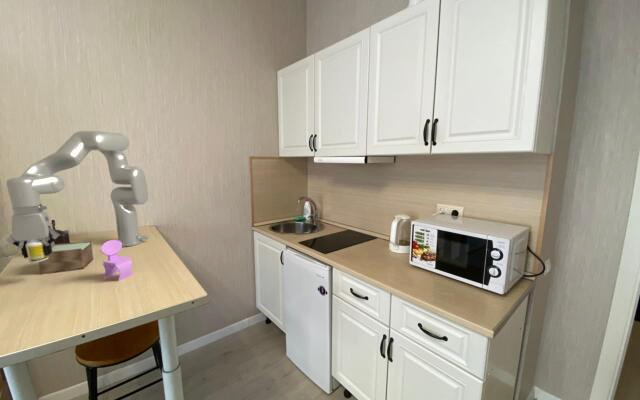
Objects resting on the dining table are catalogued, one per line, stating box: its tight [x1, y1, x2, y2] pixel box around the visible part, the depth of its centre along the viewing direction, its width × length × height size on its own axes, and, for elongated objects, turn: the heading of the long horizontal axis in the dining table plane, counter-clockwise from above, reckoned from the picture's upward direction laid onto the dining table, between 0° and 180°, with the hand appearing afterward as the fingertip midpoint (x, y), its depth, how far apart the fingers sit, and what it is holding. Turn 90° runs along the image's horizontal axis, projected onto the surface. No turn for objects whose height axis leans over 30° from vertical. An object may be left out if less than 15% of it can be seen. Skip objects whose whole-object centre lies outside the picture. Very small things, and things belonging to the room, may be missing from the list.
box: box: [38, 240, 94, 275], centre depth 121 cm, size 14×12×9 cm
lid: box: [51, 242, 90, 251], centre depth 120 cm, size 14×9×3 cm, turn 113°
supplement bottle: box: [26, 239, 49, 264], centre depth 106 cm, size 5×5×10 cm
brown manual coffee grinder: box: [49, 219, 71, 244], centre depth 136 cm, size 16×11×18 cm
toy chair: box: [100, 239, 134, 282], centre depth 111 cm, size 8×9×15 cm
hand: (38, 255), depth 107 cm, fingers closed on supplement bottle, 5 cm apart
